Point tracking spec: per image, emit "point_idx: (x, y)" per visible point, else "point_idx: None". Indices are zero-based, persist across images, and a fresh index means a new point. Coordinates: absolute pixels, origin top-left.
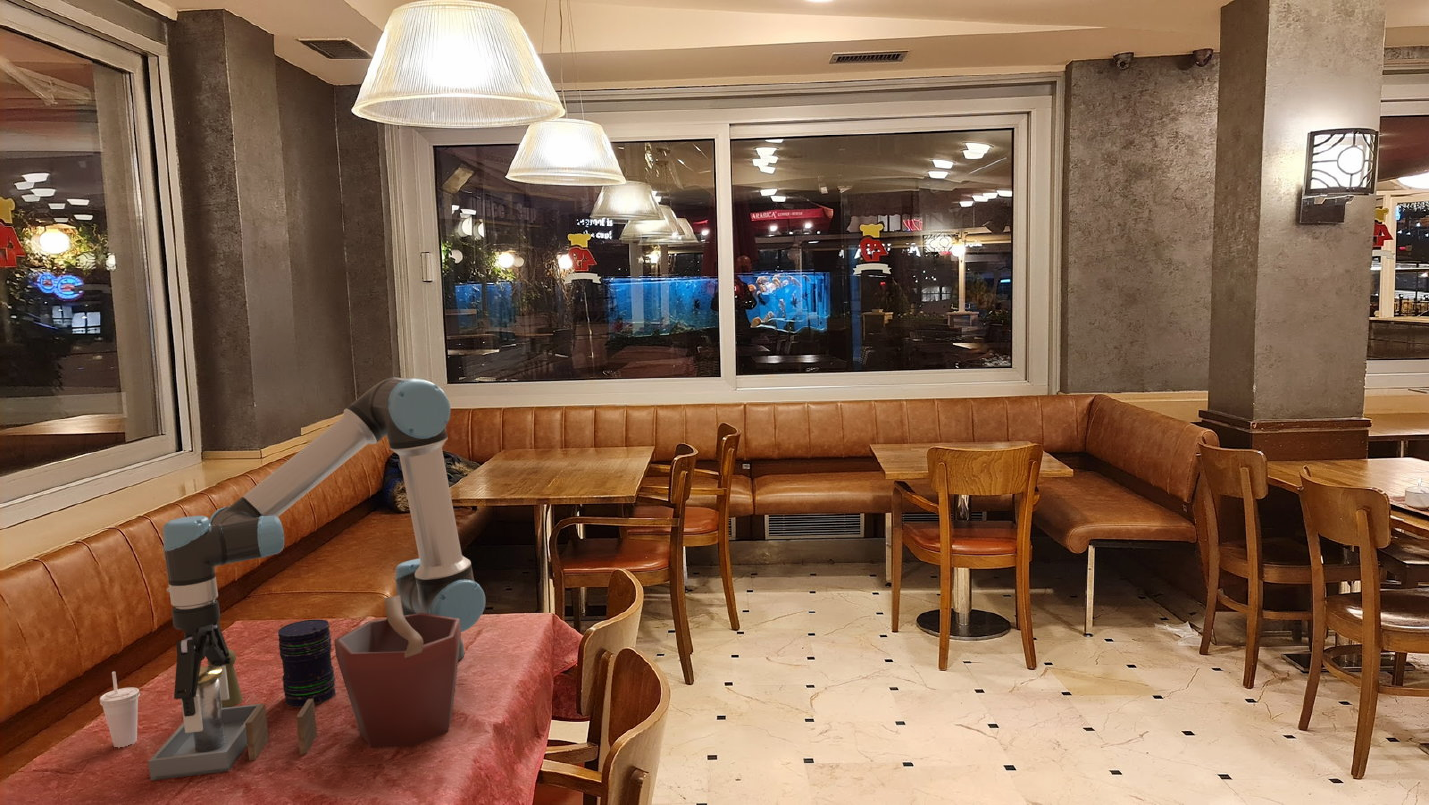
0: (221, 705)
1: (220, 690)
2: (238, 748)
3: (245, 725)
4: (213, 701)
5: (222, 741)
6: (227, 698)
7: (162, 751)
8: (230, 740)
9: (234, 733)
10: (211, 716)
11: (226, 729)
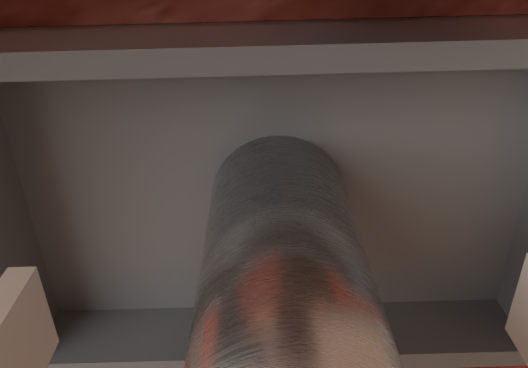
0: (271, 262)
1: (16, 356)
2: (427, 26)
3: (263, 52)
4: (371, 332)
5: (301, 148)
6: (32, 275)
7: (449, 350)
8: (238, 123)
9: (154, 132)
10: (364, 269)
11: (100, 187)
